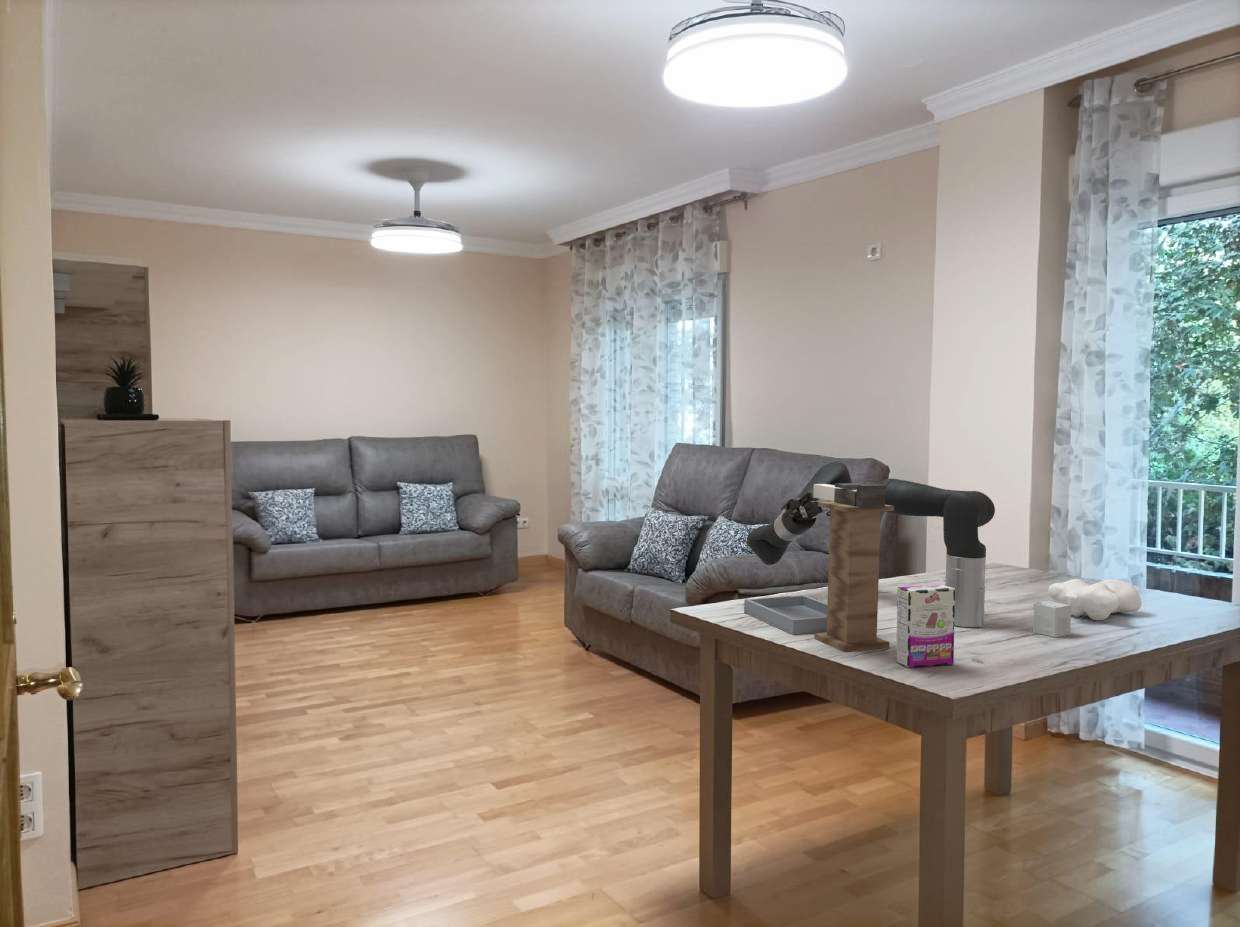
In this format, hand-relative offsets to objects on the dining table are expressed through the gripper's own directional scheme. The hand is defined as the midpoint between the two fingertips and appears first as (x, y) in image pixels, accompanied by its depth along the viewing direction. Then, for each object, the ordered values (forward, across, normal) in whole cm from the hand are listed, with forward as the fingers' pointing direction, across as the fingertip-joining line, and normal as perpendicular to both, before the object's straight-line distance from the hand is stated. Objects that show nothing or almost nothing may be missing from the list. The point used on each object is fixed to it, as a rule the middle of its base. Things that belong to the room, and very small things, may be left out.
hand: (826, 495), depth 219 cm
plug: (+5, 0, +4) cm, 7 cm away
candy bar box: (+10, +5, +44) cm, 46 cm away
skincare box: (0, +52, +38) cm, 64 cm away
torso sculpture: (-9, +77, +33) cm, 84 cm away
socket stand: (-6, 0, +34) cm, 35 cm away
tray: (-26, 0, +23) cm, 35 cm away
